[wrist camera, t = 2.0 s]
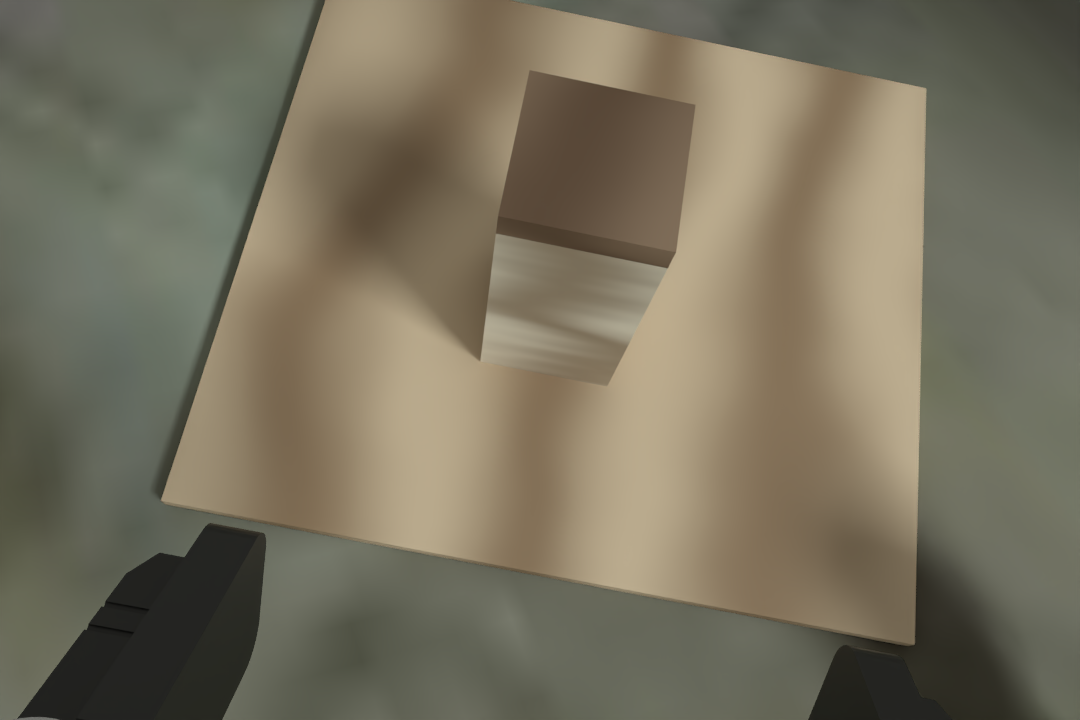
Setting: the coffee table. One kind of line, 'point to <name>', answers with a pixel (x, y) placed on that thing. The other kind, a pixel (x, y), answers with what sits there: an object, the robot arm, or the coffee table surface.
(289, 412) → the wooden board
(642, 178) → the white block
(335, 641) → the coffee table surface
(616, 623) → the coffee table surface
